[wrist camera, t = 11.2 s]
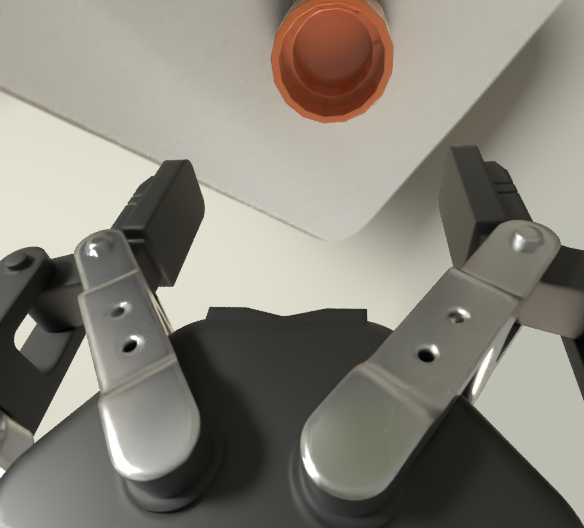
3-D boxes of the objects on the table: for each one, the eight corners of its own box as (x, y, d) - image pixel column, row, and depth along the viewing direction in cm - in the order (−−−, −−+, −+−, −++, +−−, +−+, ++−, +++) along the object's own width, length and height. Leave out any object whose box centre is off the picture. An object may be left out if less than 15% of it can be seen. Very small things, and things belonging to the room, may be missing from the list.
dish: (272, -13, 20) (262, 2, 18) (391, -29, 19) (396, -14, 17) (287, 102, 24) (280, 126, 22) (386, 94, 23) (389, 119, 21)
